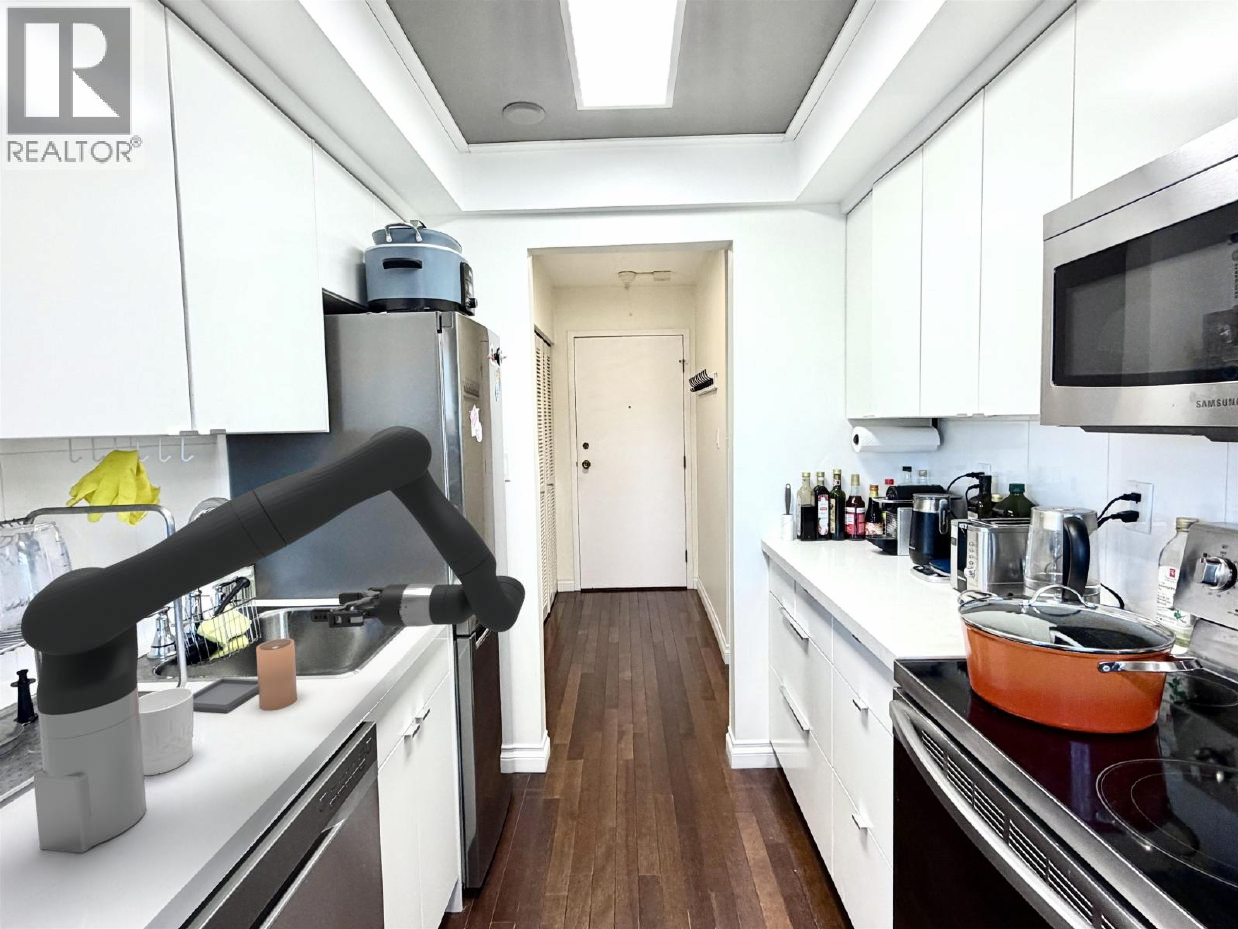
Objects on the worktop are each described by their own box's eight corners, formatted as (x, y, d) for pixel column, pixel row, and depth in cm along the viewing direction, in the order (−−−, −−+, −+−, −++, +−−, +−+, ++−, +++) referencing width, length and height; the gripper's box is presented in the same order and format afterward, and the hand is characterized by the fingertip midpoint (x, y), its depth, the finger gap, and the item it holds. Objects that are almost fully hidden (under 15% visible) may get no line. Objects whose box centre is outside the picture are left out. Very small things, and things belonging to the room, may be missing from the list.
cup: (281, 711, 101) (278, 651, 100) (251, 709, 101) (248, 650, 100) (304, 695, 107) (301, 638, 106) (275, 693, 107) (272, 637, 106)
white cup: (139, 785, 80) (134, 718, 79) (124, 765, 85) (120, 702, 84) (204, 759, 86) (200, 697, 86) (187, 741, 91) (183, 682, 90)
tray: (227, 713, 100) (226, 704, 100) (179, 710, 101) (178, 701, 101) (267, 688, 109) (266, 680, 109) (222, 685, 111) (222, 677, 110)
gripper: (427, 573, 107) (346, 575, 108) (391, 598, 93) (299, 600, 94) (430, 611, 108) (349, 612, 109) (395, 641, 94) (303, 642, 95)
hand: (326, 606), depth 102 cm, fingers open, 8 cm apart
